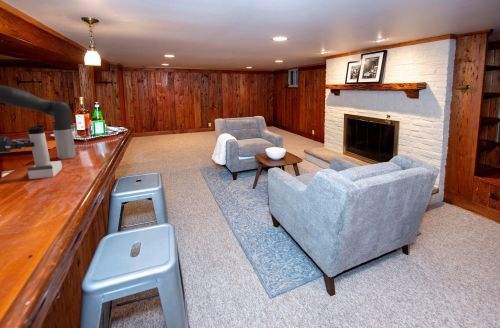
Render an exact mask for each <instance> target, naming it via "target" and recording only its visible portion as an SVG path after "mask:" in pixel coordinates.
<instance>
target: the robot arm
mask: <svg viewBox="0 0 500 328" xmlns="http://www.w3.org/2000/svg"><path fill="white" fill-rule="evenodd" d="M0 103H2V104H6V105H9V106H13V107H17V108H20V109H23V110H24V109H25V110H30V111H31V110H32V111H37V112H40V113H42V114H45V115H48V116H51V117H53V118H54V123H53V125H52V129H53V136H54V140H55V141H54V142H55V146H56V152H57V158H58V159H59V160H68V159H74V158H76V157H77V155H76V146H75V142H74V136H73V134H74V133H73V130H72V126H73V125H72V124H73V121H72V120H73V119H72V112H71V108H70V106H69V105H68V103H67V102H63V101H53V100H50V99H49V100H48V99H45V98H40V97H38V96H37V95H34V94H32V93H30V92H28V91H25V90H22V89H20V88H16V87H12V86H8V85H0ZM31 147H34V142H30V138H16V139H15V138H14V139H12V140H11V139H10V138H9V137H8V136H0V154H4V153H10V152H11V151H12V150H22V149H25V148H31Z"/></svg>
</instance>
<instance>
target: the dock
mask: <svg viewBox="0 0 500 328" xmlns="http://www.w3.org/2000/svg"><path fill="white" fill-rule="evenodd" d="M50 163H51V165H50V166H38V167H35V165H33V166H27V167H26V169H27V174H28V178H29V180H32V179H45V178H54V177H55V176H56V175H57V174H58V173H59V172H60V171H61V170H62V169H63V166H62V165H63V164H62V161H61V160H57V161H50Z"/></svg>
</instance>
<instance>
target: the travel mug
mask: <svg viewBox="0 0 500 328" xmlns="http://www.w3.org/2000/svg"><path fill="white" fill-rule="evenodd" d="M27 131H28V137H29V138H30V142H34V147H30V148H31V152H32V156H33V161H34V166H35V167H38V166H50V165H51V163H50V162H51V160H50V154H49V150H48V143H47V138H46V133H45V129H44V124H43V125H42V124H41V125H40V124H39V125H36V126H35V125H34V126H30V127H28V128H27Z"/></svg>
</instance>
